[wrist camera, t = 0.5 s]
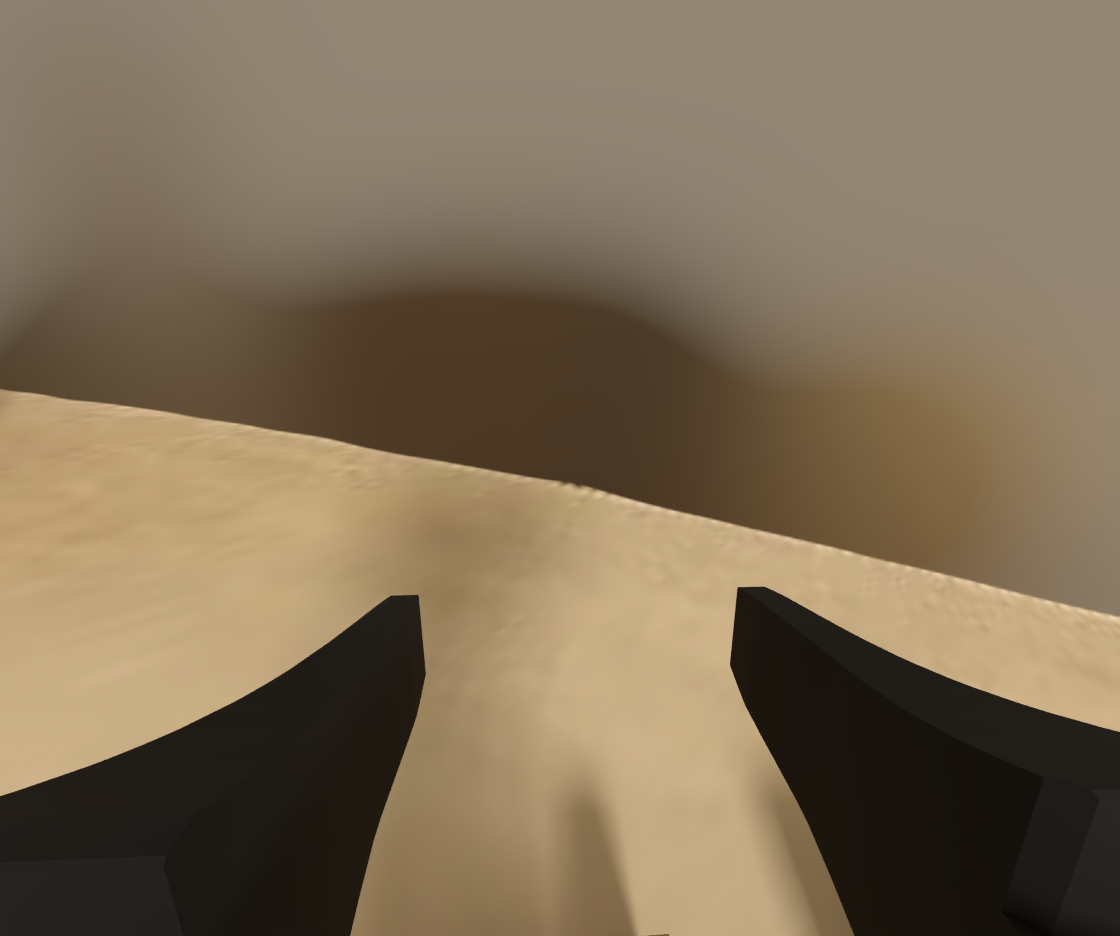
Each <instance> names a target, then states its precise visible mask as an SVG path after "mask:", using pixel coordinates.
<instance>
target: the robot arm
mask: <svg viewBox="0 0 1120 936" xmlns="http://www.w3.org/2000/svg"><path fill="white" fill-rule="evenodd" d="M730 666H731V669H732V672H733V674H734V677H735V680H736V683H737V685H738V688H739V691H740V693H741V696H742V698H743V701H744V703H745V706H746V708H747V710H748V712H749V713H750V715H751V717H752V719H753V721H754V723H755V725H756V727H757V729H758V730H759V732H760V734H761V736H762V738H763V740H764V742H765V743H766V745H767V747H768V749H769V751H770V753H771V754H772V756H773V758H774V760H775V762H776V764H777V765H778V767H779V769H780V771H781V773H782V775H783V776H784V778H785V780H786V782H787V784H788V786H789V787H790V789H791V791H792V793H793V795H794V797H795V798H796V800H797V802H798V804H799V806H800V808H801V810H802V812H803V814H804V816H805V818H806V820H807V822H808V825H809V827H810V829H811V832H812V834H813V836H814V839H815V841H816V843H817V846H818V848H819V850H820V853H821V855H822V857H823V860H824V862H825V864H826V867H827V869H828V871H829V874H830V876H831V878H832V881H833V883H834V886H835V888H836V891H837V893H838V896H839V898H840V901H841V903H842V906H843V908H844V911H845V913H846V916H847V918H848V921H849V923H850V926H851V928H852V931H853V933H854V936H1120V732H1118V731H1113V730H1110V729H1106V728H1102V727H1098V726H1095V725H1091V724H1088V723H1084V722H1080V721H1077V720H1073V719H1070V718H1066V717H1063V716H1059V715H1055V714H1052V713H1049V712H1045V711H1042V710H1039V709H1036V708H1033V707H1029V706H1026V705H1023V704H1020V703H1017V702H1014V701H1011V700H1008V699H1005V698H1002V697H999V696H996V695H994V694H991V693H988V692H985V691H982V690H979V689H976V688H973V687H971V686H968V685H966V684H963V683H960V682H958V681H955V680H952V679H950V678H947V677H945V676H943V675H940V674H938V673H935V672H933V671H931V670H928V669H926V668H924V667H921V666H919V665H916V664H914V663H912V662H909V661H907V660H905V659H903V658H901V657H898V656H896V655H894V654H892V653H890V652H888V651H886V650H884V649H882V648H880V647H878V646H876V645H874V644H872V643H870V642H868V641H866V640H864V639H862V638H860V637H858V636H856V635H854V634H852V633H850V632H848V631H847V630H845V629H843V628H841V627H839V626H837V625H835V624H834V623H832V622H830V621H828V620H826V619H825V618H823V617H821V616H819V615H817V614H816V613H814V612H812V611H810V610H808V609H807V608H805V607H803V606H801V605H799V604H798V603H796V602H794V601H792V600H790V599H789V598H787V597H785V596H783V595H781V594H779V593H777V592H775V591H773V590H771V589H768V588H766V587H738V589H737V599H736V609H735V619H734V630H733V640H732V650H731V660H730ZM425 675H426V672H425V661H424V650H423V639H422V628H421V617H420V606H419V595H402V596H390V597H388V598H387V599H385V600H384V601H383V602H381V603H380V604H379V605H377V606H376V607H375V608H373V609H372V610H371V611H369V612H368V613H367V614H366V615H364V616H363V617H362V618H360V619H359V620H358V621H357V622H355V623H354V624H353V625H351V626H350V627H349V628H347V629H346V630H345V631H343V632H342V633H341V634H339V635H338V636H337V637H336V638H334V639H333V640H332V641H330V642H329V643H327V644H326V645H324V646H323V647H322V648H320V649H319V650H317V651H316V652H314V653H313V654H311V655H310V656H309V657H307V658H306V659H304V660H303V661H301V662H300V663H298V664H297V665H296V666H294V667H293V668H291V669H290V670H288V671H287V672H285V673H283V674H282V675H280V676H279V677H277V678H275V679H274V680H272V681H270V682H269V683H267V684H265V685H264V686H262V687H260V688H258V689H257V690H255V691H253V692H251V693H250V694H248V695H246V696H244V697H243V698H241V699H239V700H237V701H235V702H233V703H231V704H229V705H227V706H225V707H223V708H221V709H219V710H217V711H215V712H213V713H211V714H209V715H207V716H205V717H203V718H201V719H199V720H197V721H195V722H193V723H191V724H189V725H187V726H185V727H183V728H181V729H178V730H176V731H174V732H172V733H170V734H167V735H165V736H163V737H160V738H158V739H156V740H153V741H151V742H149V743H146V744H144V745H142V746H139V747H137V748H134V749H132V750H129V751H127V752H124V753H122V754H119V755H117V756H114V757H112V758H109V759H107V760H104V761H101V762H99V763H96V764H93V765H91V766H88V767H85V768H82V769H79V770H76V771H74V772H71V773H68V774H65V775H62V776H59V777H56V778H53V779H50V780H48V781H45V782H42V783H39V784H36V785H33V786H30V787H27V788H24V789H21V790H18V791H15V792H12V793H9V794H6V795H3V796H0V936H350V934H351V930H352V925H353V921H354V917H355V913H356V909H357V904H358V900H359V896H360V892H361V888H362V884H363V880H364V876H365V872H366V868H367V864H368V860H369V856H370V853H371V849H372V845H373V841H374V838H375V835H376V831H377V828H378V825H379V822H380V818H381V815H382V813H383V810H384V807H385V804H386V801H387V799H388V796H389V793H390V790H391V787H392V785H393V782H394V779H395V776H396V773H397V771H398V768H399V765H400V762H401V759H402V757H403V754H404V751H405V748H406V745H407V742H408V740H409V737H410V734H411V731H412V728H413V725H414V722H415V719H416V716H417V712H418V708H419V703H420V699H421V694H422V689H423V684H424V679H425Z"/></svg>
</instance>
